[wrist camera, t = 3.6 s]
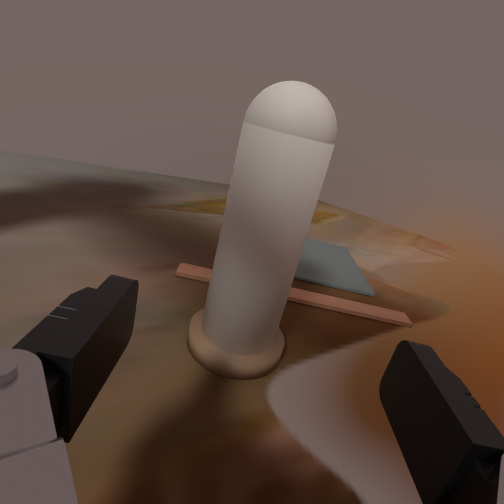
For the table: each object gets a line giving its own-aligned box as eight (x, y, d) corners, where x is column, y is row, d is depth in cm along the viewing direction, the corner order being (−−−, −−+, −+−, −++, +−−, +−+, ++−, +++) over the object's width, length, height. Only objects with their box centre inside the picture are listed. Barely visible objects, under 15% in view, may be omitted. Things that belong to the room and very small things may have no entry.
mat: (225, 263, 36) (226, 260, 35) (235, 223, 49) (236, 221, 48) (374, 296, 36) (375, 294, 36) (345, 249, 49) (346, 247, 49)
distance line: (175, 275, 31) (176, 271, 31) (180, 266, 33) (181, 262, 32) (411, 327, 32) (413, 324, 32) (403, 316, 34) (404, 312, 34)
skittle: (176, 367, 20) (235, 56, 14) (196, 310, 26) (244, 74, 20) (282, 388, 21) (382, 93, 15) (278, 328, 27) (348, 100, 21)
